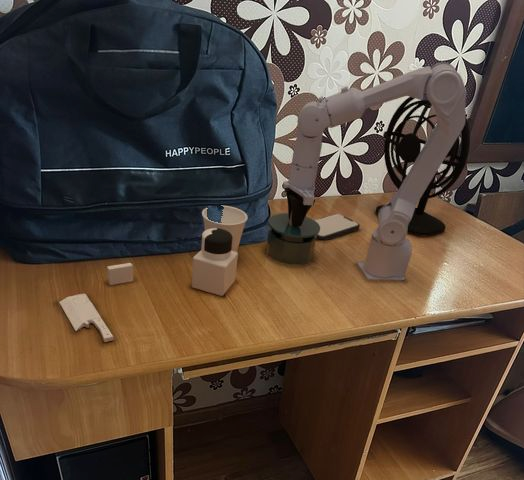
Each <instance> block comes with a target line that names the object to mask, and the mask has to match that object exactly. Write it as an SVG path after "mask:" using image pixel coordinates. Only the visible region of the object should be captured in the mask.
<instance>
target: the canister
mask: <svg viewBox="0 0 524 480" xmlns="http://www.w3.org/2000/svg"><path fill="white" fill-rule="evenodd" d="M267 234H268V235H267V242H266V249H265V251H266V253H267V256H269V257H270V258H271V259H272V260H274V261H277V262H279V263H282V264H286V265H304V264H308V263H309V262H310V261H312V260H313V257H314V252H315V246H316V242H317V239H316V238H317V235H315V236H313V237H308V238H302V239H303V240H304V241H303V243H302V242H290V241H285V240H283V239H280V238H281V234H280V233H277V232H276V231H274V230H272V229H271V228H270V227H269V229H268V233H267Z"/></svg>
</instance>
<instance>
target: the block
mask: <svg viewBox="0 0 524 480" xmlns="http://www.w3.org/2000/svg"><path fill="white" fill-rule="evenodd" d="M280 239H283V240H285V241H290V242H302V243H303V241H304V240H303V239H302V238H296V237H289V236H285V235H282V234H281V238H280Z"/></svg>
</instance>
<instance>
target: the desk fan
mask: <svg viewBox="0 0 524 480" xmlns="http://www.w3.org/2000/svg"><path fill="white" fill-rule="evenodd" d="M425 95H426V94H423V96H425ZM415 99H416V98H413V97H409V96H408V97H407V98H405V100H404V101H402V102H401V103H400V104H399V106H398V107H397V108H396V110H395V111H394V113H393V114H392V117H391V118H390V120H389V123H388V126H387V129H386V131H383V134H382V137H383V139H384V142H383V143H384V144H383V146H384V147H383V155H384V163H385V168H386V171H387V173H388V176H389V178H390V180H391V182H392V184H393V185H394V186H395V187H396V188H397V190H399V188H400V187H401V185H402V183H403V181H404V180H405V178H406V176H407V169H408V164H411V163H413V164H414V162H415V160H416V159H417V157H418V155H419V153H420V152H421V150H422V145H425V143H426V141H427V140H424V139H422V138H419V137H418V135H417V133H418V131H419V129H420V128H421V126H422V125H423V124H424V123H425V122H426V123H428V124H429V126H430V127H431V129H432V130H433V129H434V127H435V126H436V125H435V124H434V122H432V121H431V120H430V119H432V118H436V114H432V115H429V116H427V117H426V116H425V115H426V113H427V111H428V110H429V109H430V107H431V106H432V104H431V103H430V101H429V100H428V99H423V100H416V101H414V100H415ZM412 101H413V102H412ZM423 106H424V107H423ZM422 107H423V109H422V111H421V113H420V115H413V114H414V113H415V112H416V111H417V110H419V109H420V108H422ZM410 108H411V109H410ZM409 109H410V110H409ZM408 110H409V111H408ZM406 111H408V112H407V113H406ZM404 113H406V115H405V116H404V118H403V119H402V120H401V122H400V123H399V124H398V125H397V123H398V121H399V120H400V118H401V117H402V116H403V114H404ZM414 118H416V119H417V118H418V119H417V121H416V124H415V126H414V129H413V132H409V133H406V134H405V133H402V132H403V130H404V128H405V126H406V123H407V122H408V121H410V120H411V119H414ZM396 125H397V127H396ZM395 127H396V128H395ZM460 135H461V149H460ZM460 135H459V136H458V138H457V139H456V141H455V142H454V144H453V146H452V147H451V149H450V151H449V152H448V154H447V156H446V157H445V159H444V160H443V162H442V164H441V165H445V166H446V167H445V168H444V169H443V170H441V171H439V169H438V170H437V172H436V174H435V175H434V177H433V178H432V180H431V182H430V183H429V185H428V187H427V188H426V190H425V192H424V193H423V195H422V196H421V198H420V200H419V201H418V203H417V205H416V207H415V210H414V213H413V216H412V219H411V221H410V222H409V224H408V229H407V234H408V233H409V234H412V235H415V236H421V237H428V236H429V237H430V236H433V235H436V234H441V233H443V232H445V231H446V228H447V227H446V224H445V223H444V221H442V220H441V219H439V218H437V217H435V216H433V215H432V214H429V213H428V212H425V209H426V206H427V204H428V201H429V199H432V198H436V197H439V196H440V195H442V194H444V193H445V192H447V191H448V190H449V189H451V187H452V186H454V184H455V183H456V182H457V181H458V179H459V177H461V175H462V173H463V170H464V168H465V167H466V164H467V161H468V157H469V153H470V145H471V133H470V126H469V121H468V117H467V115H466V114H465V125H464V127H463V129H462V131H461V133H460ZM459 151H460V152H459ZM459 153H460V154H459ZM458 154H459V155H458ZM447 158H449V160H447ZM401 160H402V161H403V166H402V163H401V162H402V161H401ZM452 167H454V168H453V170H452V172H450V174H449V171H450V170H451V168H452ZM395 170H396V171H397V172H398V174H399V175H400V176H401V179H400V178H399V176H398V175H397V174H396V172H395ZM438 171H439V172H438ZM448 174H449V176H448ZM439 175H440V176H439ZM437 176H439V178H437V179H436V177H437ZM446 176H447V177H446ZM444 185H445V186H444ZM443 186H444V187H443ZM441 187H442V188H441ZM438 188H441V189H440V190H438V191H436V192H434V193H432V194H431V192H432V190H436V189H438ZM386 204H387V203H385V204H379V205H377V206H376V207H375V214H376V215H377V216H378V213H379V211H380V209H381V208H382V207H383V206H385V205H386Z"/></svg>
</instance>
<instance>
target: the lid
mask: <svg viewBox="0 0 524 480" xmlns="http://www.w3.org/2000/svg"><path fill="white" fill-rule="evenodd" d="M291 218H292V210H291V216H290V220H289V216H288V212H283V213H277V214H273V215H272V216H270V217H269V218H268V220H267V225H268V226H269V229H270V228H271V229H272V230H274V231H276V232H277V233H280V234H282V235H285V236H289V237H296V238H308V237H313V236H315V235H317V234H318V233H319V232H320V226H319V224H318V223H317V222H316V221H314V220H315V219H312V218H310V217H309V216H307V215H306V216H305V219H304V221H303V223H302V225H301V226H292V221H291Z"/></svg>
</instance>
